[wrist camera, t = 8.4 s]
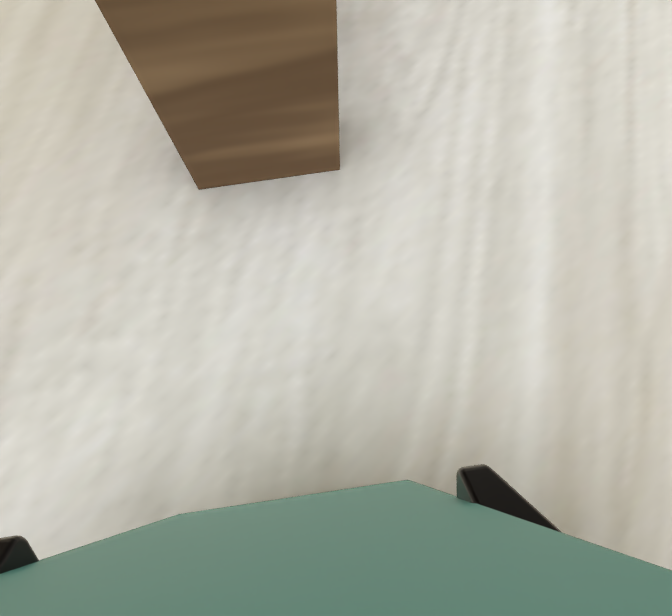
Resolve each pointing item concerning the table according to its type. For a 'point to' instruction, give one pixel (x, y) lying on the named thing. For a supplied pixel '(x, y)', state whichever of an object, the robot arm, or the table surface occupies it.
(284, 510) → the teal domino
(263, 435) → the table surface
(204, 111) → the walnut domino
